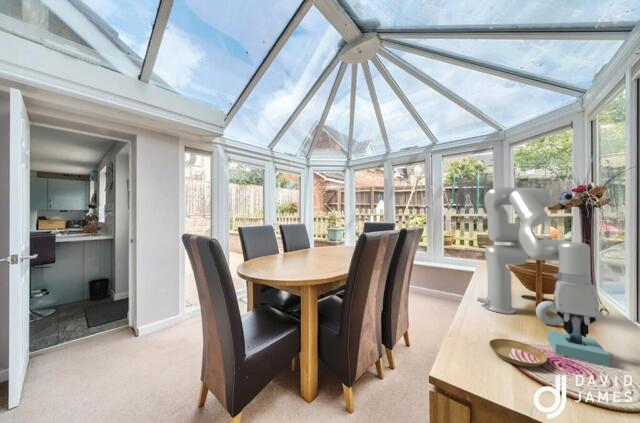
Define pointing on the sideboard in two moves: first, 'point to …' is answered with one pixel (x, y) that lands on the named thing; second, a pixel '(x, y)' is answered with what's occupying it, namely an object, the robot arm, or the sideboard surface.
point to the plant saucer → (505, 346)
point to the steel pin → (575, 328)
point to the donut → (543, 317)
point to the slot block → (578, 348)
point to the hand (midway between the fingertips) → (575, 333)
